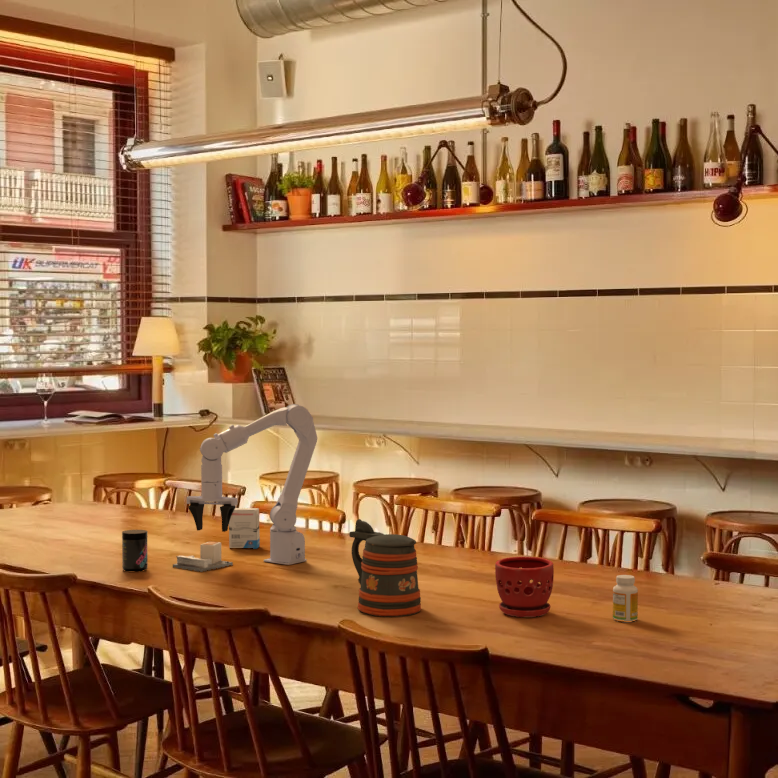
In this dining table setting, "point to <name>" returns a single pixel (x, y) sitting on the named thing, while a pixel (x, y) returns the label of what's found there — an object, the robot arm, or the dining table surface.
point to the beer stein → (386, 572)
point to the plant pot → (524, 585)
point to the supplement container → (134, 550)
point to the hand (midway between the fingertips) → (212, 530)
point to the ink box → (244, 528)
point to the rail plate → (199, 563)
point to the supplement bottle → (625, 598)
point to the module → (211, 551)
